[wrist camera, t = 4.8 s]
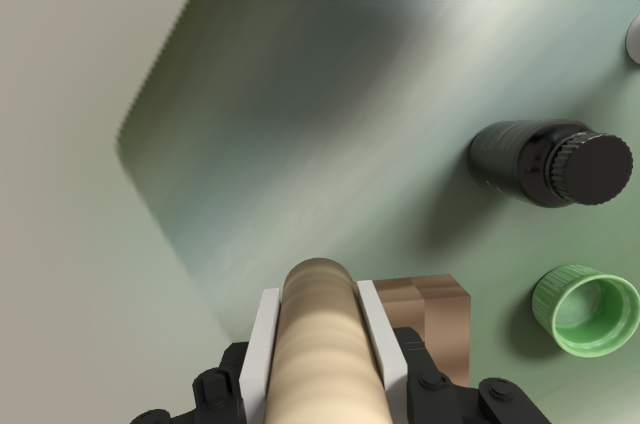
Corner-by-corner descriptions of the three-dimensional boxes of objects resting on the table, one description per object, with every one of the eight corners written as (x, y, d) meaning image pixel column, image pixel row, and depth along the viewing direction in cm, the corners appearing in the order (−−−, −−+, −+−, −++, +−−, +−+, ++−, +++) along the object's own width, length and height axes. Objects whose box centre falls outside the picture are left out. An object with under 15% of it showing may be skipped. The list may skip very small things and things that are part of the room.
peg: (279, 260, 19) (237, 460, 8) (351, 254, 19) (417, 444, 8) (287, 325, 20) (259, 590, 9) (355, 319, 20) (419, 573, 9)
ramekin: (524, 265, 38) (552, 283, 33) (607, 252, 38) (645, 268, 33) (525, 339, 40) (552, 364, 35) (604, 326, 40) (640, 350, 35)
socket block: (318, 285, 37) (319, 309, 32) (449, 274, 37) (470, 295, 32) (327, 398, 40) (330, 434, 35) (448, 386, 41) (467, 421, 36)
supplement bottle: (471, 198, 36) (551, 231, 24) (460, 131, 34) (541, 131, 22) (537, 181, 35) (651, 206, 24) (530, 113, 34) (647, 104, 22)
